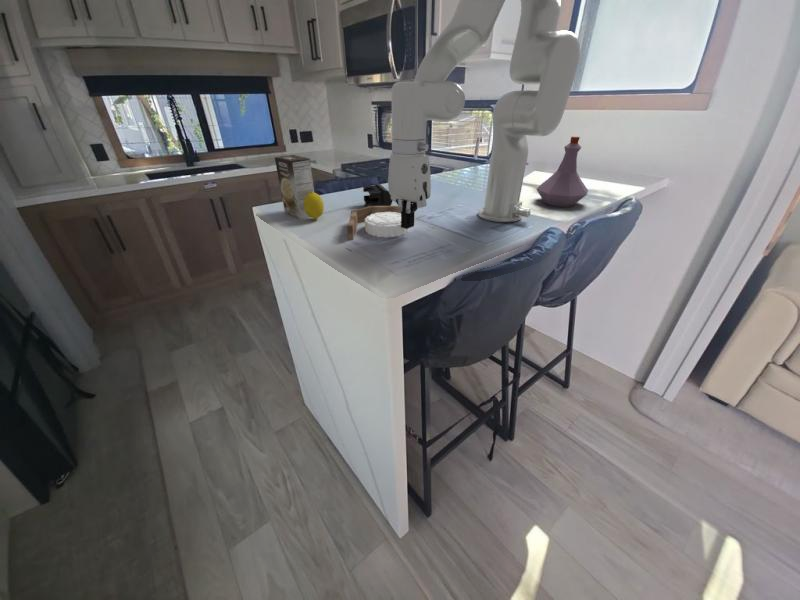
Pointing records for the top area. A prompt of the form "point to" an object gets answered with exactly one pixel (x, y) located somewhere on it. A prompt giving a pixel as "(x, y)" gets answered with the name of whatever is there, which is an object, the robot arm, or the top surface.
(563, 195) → the flask
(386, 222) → the mooncake
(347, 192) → the top surface
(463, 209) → the top surface
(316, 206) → the lemon
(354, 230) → the centring jig
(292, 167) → the coffee box
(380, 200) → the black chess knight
